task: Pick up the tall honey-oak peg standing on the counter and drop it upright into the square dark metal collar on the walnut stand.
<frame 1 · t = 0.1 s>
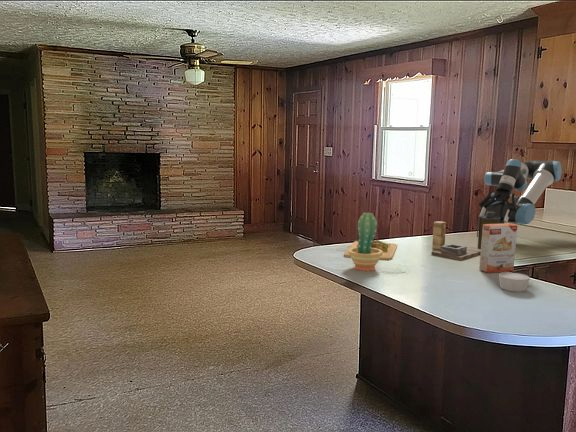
hand: (492, 220, 279), 15 cm above the countertop, tool tilted 35°, fingers open, 13 cm apart
cutting board: (371, 252, 275), on the countertop
wick stand: (458, 253, 270), on the countertop
ramekin: (513, 289, 211), on the countertop
potted cactus: (364, 268, 241), on the countertop
cracker box: (496, 271, 237), on the countertop
canister: (487, 250, 280), on the countertop
oak peg: (438, 248, 283), on the countertop
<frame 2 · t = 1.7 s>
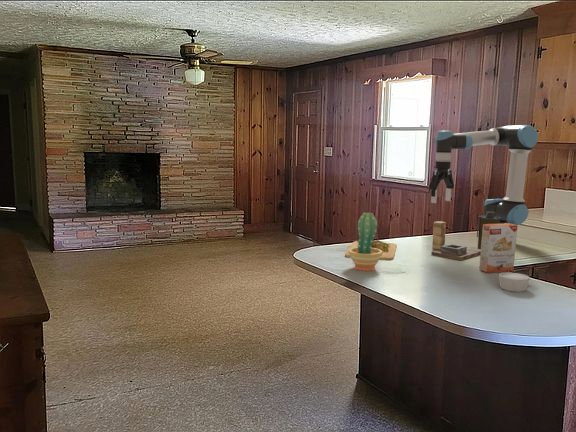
hand: (440, 201, 279), 25 cm above the countertop, tool pointing down, fingers open, 13 cm apart
nothing on the countertop moved.
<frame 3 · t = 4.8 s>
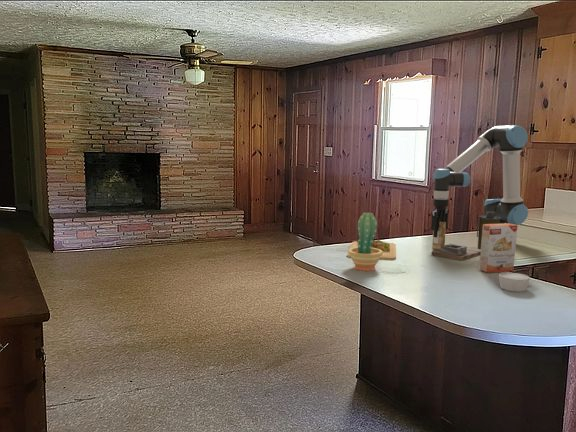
hand: (438, 242, 282), 3 cm above the countertop, tool pointing down, fingers closed on oak peg, 4 cm apart
oak peg: (438, 248, 283), on the countertop, touching gripper
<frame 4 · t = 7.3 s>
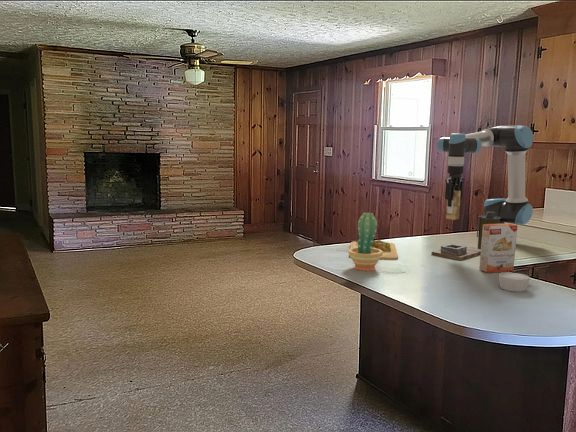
hand: (452, 212, 265), 21 cm above the countertop, tool pointing down, fingers closed on oak peg, 4 cm apart
oak peg: (452, 218, 266), point 18 cm above the countertop, touching gripper
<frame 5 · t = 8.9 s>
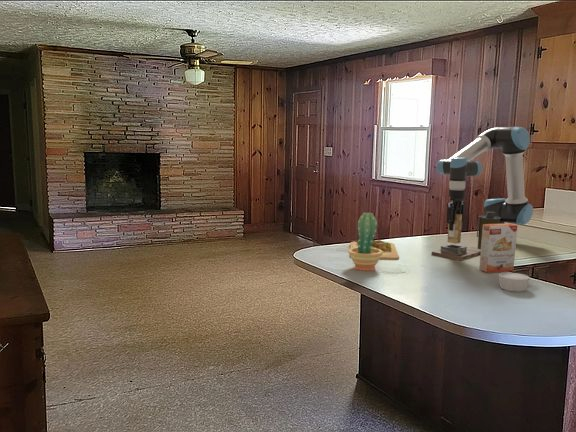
hand: (454, 236, 265), 10 cm above the countertop, tool pointing down, fingers closed on oak peg, 4 cm apart
oak peg: (453, 242, 266), point 7 cm above the countertop, touching gripper
when the fingers open (7 cm above the countertop, at t = 10.2 s): oak peg drops 2 cm, resting on wick stand.
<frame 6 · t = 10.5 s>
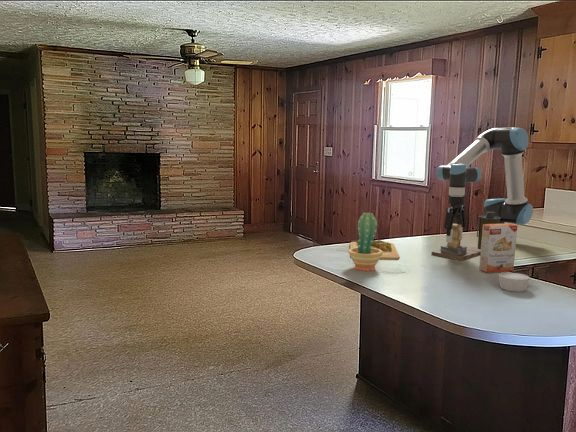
hand: (454, 240, 266), 7 cm above the countertop, tool pointing down, fingers open, 9 cm apart
oak peg: (453, 252, 267), point 2 cm above the countertop, touching wick stand
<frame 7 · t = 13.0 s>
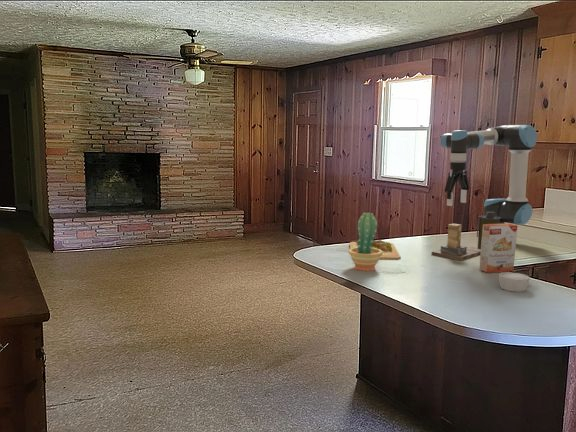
hand: (456, 204, 269), 25 cm above the countertop, tool pointing down, fingers open, 13 cm apart
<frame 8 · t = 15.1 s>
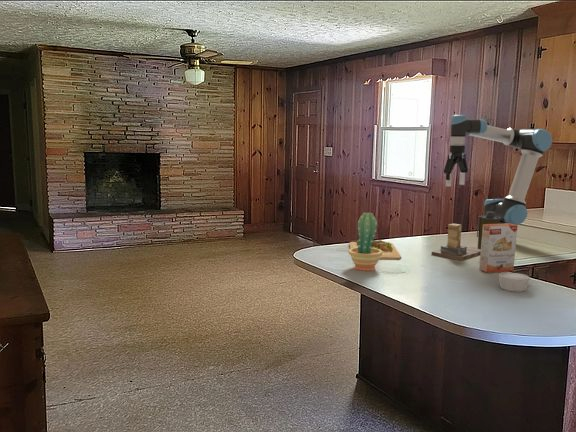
hand: (455, 185, 283), 33 cm above the countertop, tool pointing down, fingers open, 13 cm apart
at the end: oak peg 0.1 cm from the target spot on the wick stand, point 1.5 cm above the wick stand's base; oak peg tilted 0°; the gripper is holding nothing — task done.
